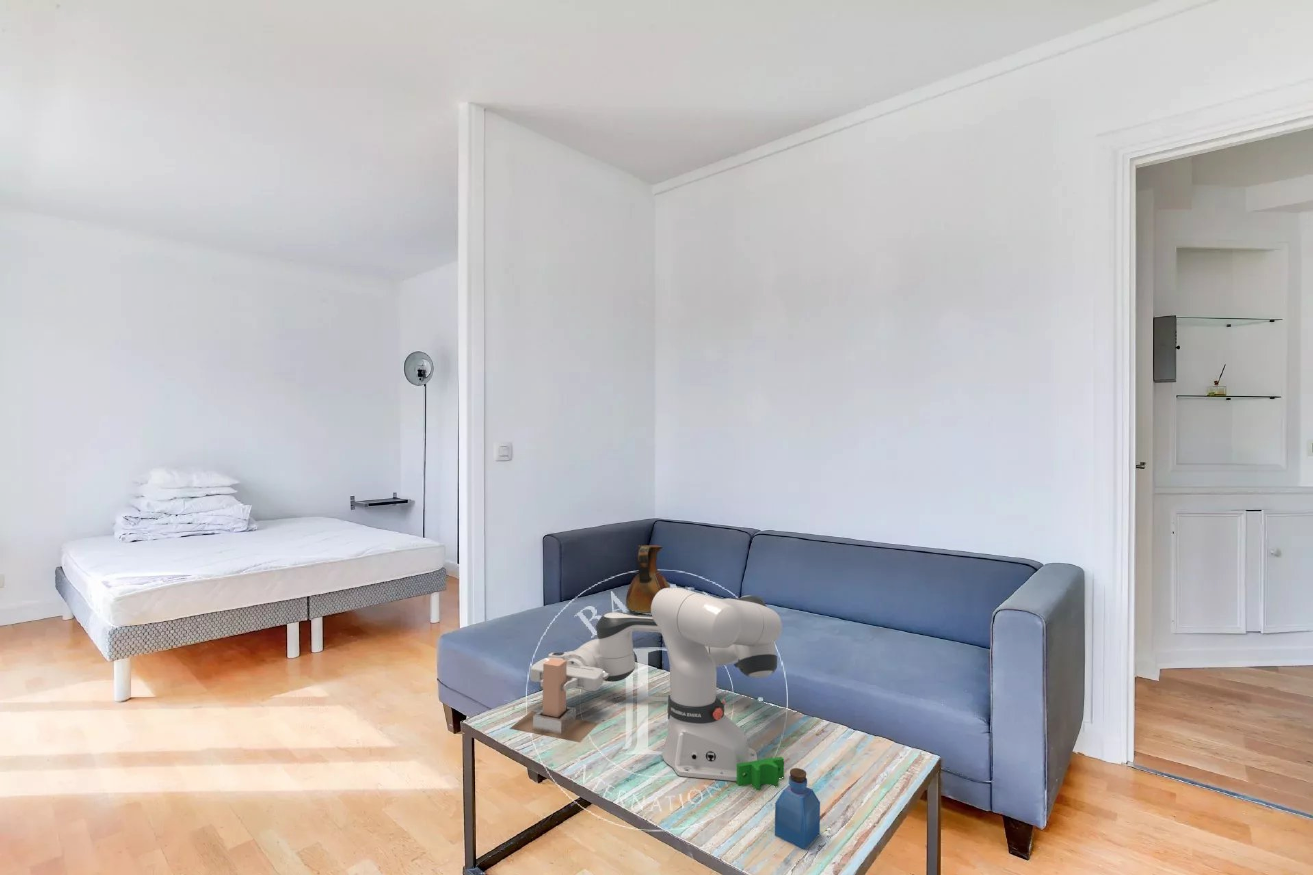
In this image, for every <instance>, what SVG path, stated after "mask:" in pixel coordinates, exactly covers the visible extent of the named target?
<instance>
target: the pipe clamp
mask: <svg viewBox="0 0 1313 875" xmlns="http://www.w3.org/2000/svg"><path fill="white" fill-rule="evenodd" d="M744 773H745V774H744ZM743 774H744V775H743ZM784 774H785V758H784V757H783V756H775V757H771V758H763V759H757V761H751V762H745V763H739V764H737V781H736V785H737V786H738V787H743V786H748V785H751V786H752V787H753V788H754V790H755V791H760V789H761V787H760V786H761V785H770V784H771V785H770V786H773V787H774V786H775V787H774V788H777V787H776V786H778V787H779V780H780V779H779V778H782V777H784V778H785V775H784ZM782 779H783V778H782Z"/></svg>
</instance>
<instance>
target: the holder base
mask: <svg viewBox="0 0 1313 875" xmlns="http://www.w3.org/2000/svg"><path fill="white" fill-rule="evenodd" d="M538 712H539V711H534V710H531V711H529V712H528V713H527V714H526V715H525V716H523V717H522V718H521V719H519V720H518V721H517V722H515V724H513V725H512V726H511V727H509V729H510V730H513V731H521V732H524V733H531V734H534V735H540V736H546V737H551V738H556V739H561V740H565V741H572V742H577V743H581V742H582V741H583V740H584V739H585V738H586V737H587V736H588V735H589V734H590V733H591V732H592V731H593V730H594V729H595V728H596V727H597V726H598V725H599V722H595V721H591V720H584V719H578V718H576V721H575V723H574V724H572V725H571V726H570V727H569V728H568V729H567V730H566V731H565V732H564V733H563V734H562V735H557V734H552V733H547V732H542V731H536V730H533V716H534V715H535V714H536V713H538Z"/></svg>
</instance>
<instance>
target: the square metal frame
mask: <svg viewBox="0 0 1313 875" xmlns="http://www.w3.org/2000/svg"><path fill="white" fill-rule="evenodd" d="M542 711H543V708H541V709H540V710H538V711H537V712H538V713H536V714H535V715H534V716H533V730H536V731H542V732H547V733H552V734H557V735H562V734H563V733H564V732H565V731H566V730H567V729H568V728H569V727H570V726H571V725H572V724H574V723H575V721H576V719H577V718H576V717H577V716H576V713H577V712H576V711H577V710H576V707H570V706H566V710H565V711H564V712H563V713H562V714H561V715H560V716H559V717H554V716H548V715H543V714H542Z"/></svg>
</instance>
